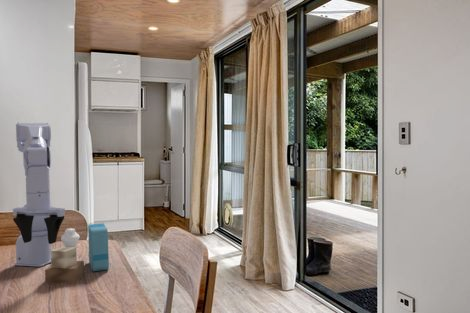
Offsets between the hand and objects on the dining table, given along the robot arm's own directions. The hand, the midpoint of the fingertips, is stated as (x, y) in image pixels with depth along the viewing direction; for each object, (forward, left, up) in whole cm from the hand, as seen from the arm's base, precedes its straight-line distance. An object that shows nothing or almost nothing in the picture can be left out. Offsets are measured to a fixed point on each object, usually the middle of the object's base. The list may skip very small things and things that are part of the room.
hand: (39, 242), depth 110 cm
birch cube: (+6, +2, -7) cm, 9 cm away
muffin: (-14, +33, -11) cm, 38 cm away
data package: (+9, +14, -11) cm, 20 cm away
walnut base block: (+6, +2, -11) cm, 12 cm away
